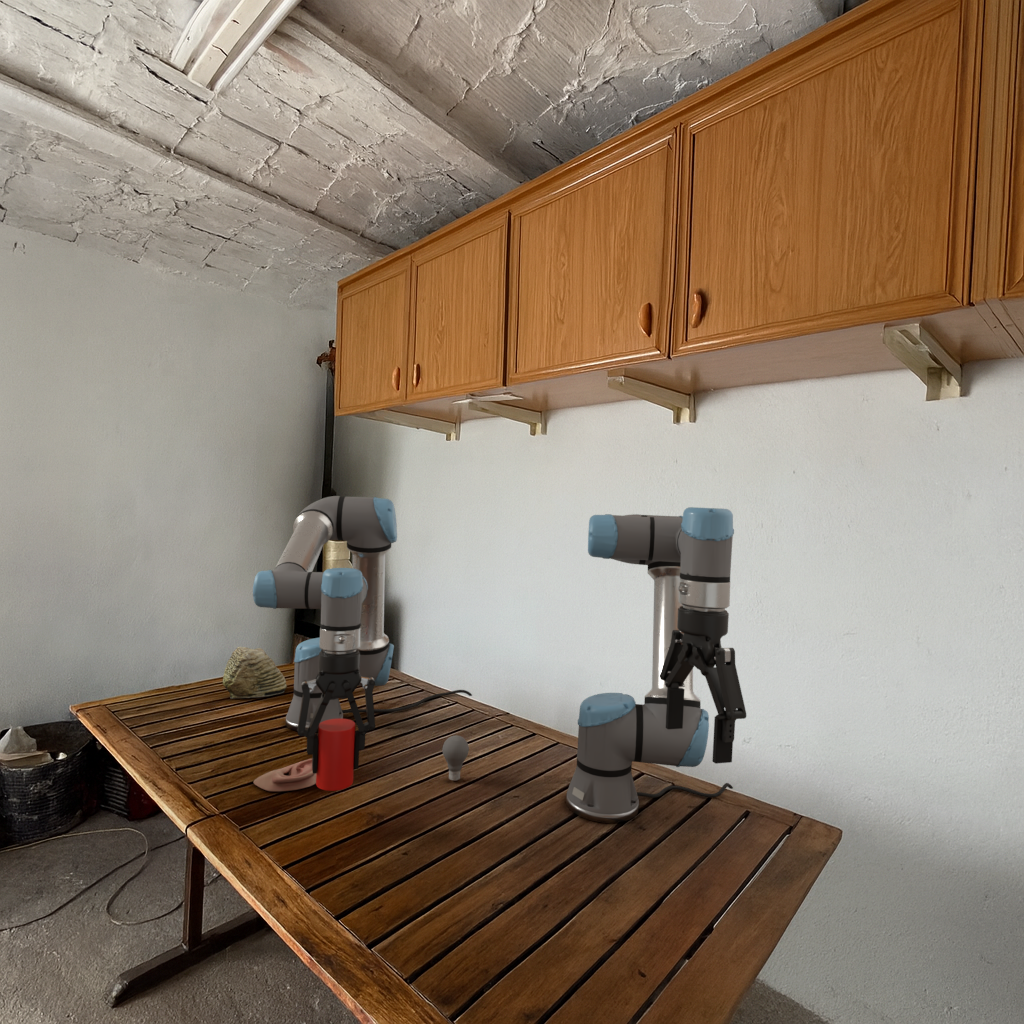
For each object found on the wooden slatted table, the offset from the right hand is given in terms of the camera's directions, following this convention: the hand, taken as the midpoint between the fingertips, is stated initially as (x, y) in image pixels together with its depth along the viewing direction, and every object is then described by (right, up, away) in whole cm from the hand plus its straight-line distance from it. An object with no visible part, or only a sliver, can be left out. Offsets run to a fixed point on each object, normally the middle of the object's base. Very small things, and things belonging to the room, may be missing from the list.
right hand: (696, 744), depth 98 cm
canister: (-63, -16, +24) cm, 69 cm away
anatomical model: (-78, -24, +42) cm, 92 cm away
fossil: (-109, -21, +100) cm, 150 cm away
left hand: (-63, -13, +24) cm, 68 cm away
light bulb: (-42, -25, +46) cm, 67 cm away
